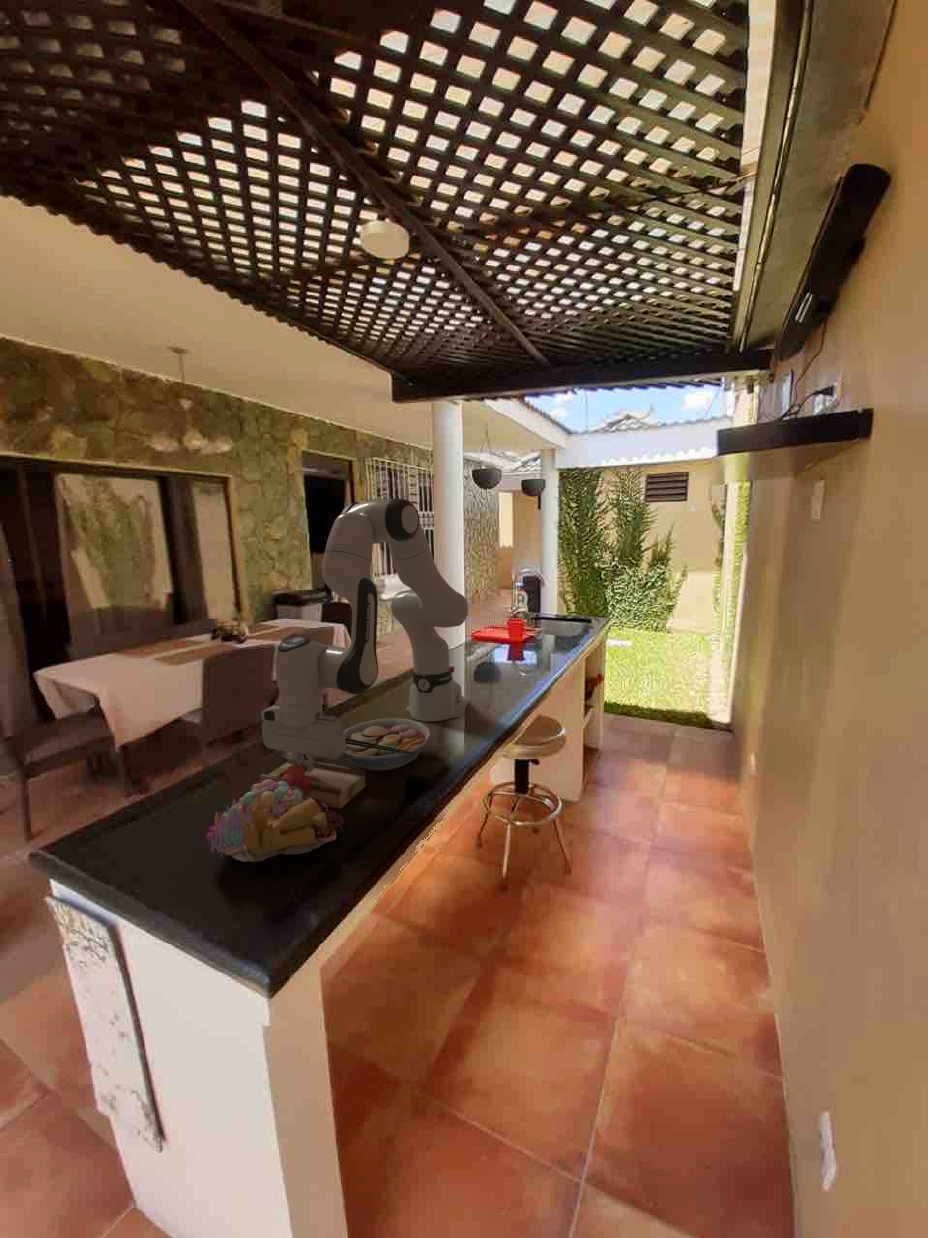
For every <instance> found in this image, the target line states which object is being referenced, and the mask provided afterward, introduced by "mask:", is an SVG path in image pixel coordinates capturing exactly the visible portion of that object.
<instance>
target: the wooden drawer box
mask: <svg viewBox="0 0 928 1238" xmlns="http://www.w3.org/2000/svg"><path fill="white" fill-rule="evenodd" d="M305 760H306V761H308V759H305ZM295 764H297V765H298V763H297V762H296V760H295V759H294V757H288V758H287V759H286V762H285V763H284V764H282V765H280V766H279V767H278V768H276V769H274V770H273V771H271V772H270V773H268V774H266V773H261V774H259V779H260V780H259V781H260V782H259V783H262V782H263V781H264V780H266V779H271V780H273V781H274V782H280V781H281V778H282V777H283V776H284V774H285V771H286V770H287V768H288V767H290V766H291V765H295ZM305 776H307V777H309V778H310V781H311V782H310V785H309V788H310V789H311V794H310V796H311V798H316V799H319V800H320V801H321V802H324V804H325V805H327V806H328V807H330V808H335V809H340V810H341V809H342V808H343V807H344V806H345V805H346V804H348V802H350V801H351V799H353V798H354V797H355V796H356V795H358V793H360V792H361V791H362V790H363V789H364V788H365V787H366V778H365V776H366V775H365V769H361V768H356V767H351V766H344V765H338V764H334V763H333V764H332V763H329V762H328V763H327V762H322V761H321V762H320V761H316V760H315V761H314V770H313V771H311V772H306V771H305ZM290 788H291V790H295V789H298V790H299V791H300V792H302V794H303V796H306V797H308V798H309V795H306V794H304V789H300V788H299V787H298V786H297V785H292V786H291V787H290Z"/></svg>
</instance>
